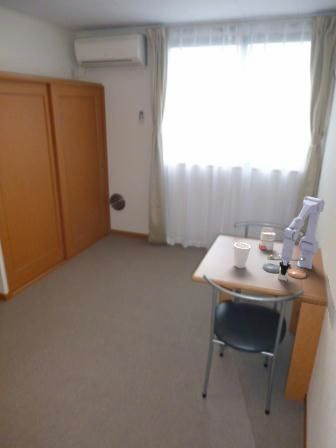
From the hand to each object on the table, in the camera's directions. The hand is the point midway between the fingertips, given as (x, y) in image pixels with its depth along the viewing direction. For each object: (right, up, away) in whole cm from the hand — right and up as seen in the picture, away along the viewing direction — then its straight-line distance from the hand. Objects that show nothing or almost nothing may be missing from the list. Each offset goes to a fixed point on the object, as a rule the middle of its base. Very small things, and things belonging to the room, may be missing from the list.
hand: (283, 271), depth 180 cm
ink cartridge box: (+2, +10, +40) cm, 42 cm away
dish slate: (-3, 0, +12) cm, 12 cm away
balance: (+6, +1, +16) cm, 17 cm away
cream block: (0, -4, +1) cm, 4 cm away
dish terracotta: (+10, -2, +7) cm, 12 cm away
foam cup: (-22, +2, +14) cm, 26 cm away
